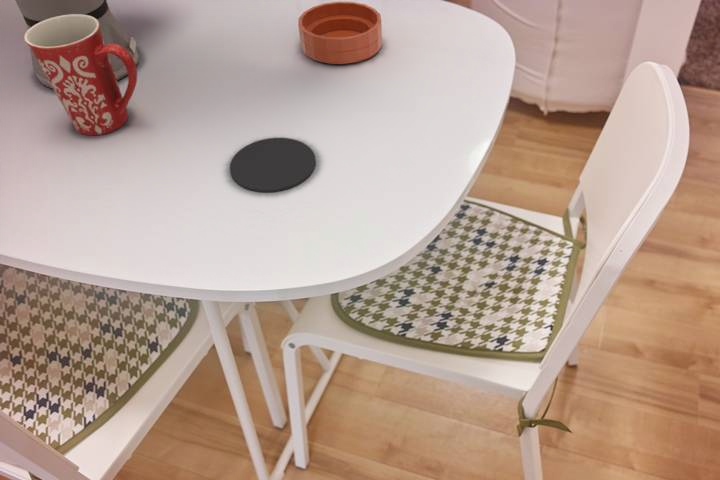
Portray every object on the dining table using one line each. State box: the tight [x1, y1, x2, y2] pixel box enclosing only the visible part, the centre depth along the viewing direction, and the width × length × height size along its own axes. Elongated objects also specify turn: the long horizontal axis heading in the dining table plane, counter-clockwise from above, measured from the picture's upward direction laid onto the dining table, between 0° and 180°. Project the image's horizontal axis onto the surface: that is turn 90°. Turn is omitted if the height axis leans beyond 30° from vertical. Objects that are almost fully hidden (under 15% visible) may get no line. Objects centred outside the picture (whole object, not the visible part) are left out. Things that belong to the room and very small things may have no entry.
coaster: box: [229, 137, 317, 193], centre depth 79 cm, size 11×11×1 cm
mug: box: [23, 14, 138, 136], centre depth 81 cm, size 13×9×14 cm
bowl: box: [297, 1, 383, 65], centre depth 99 cm, size 13×13×4 cm
